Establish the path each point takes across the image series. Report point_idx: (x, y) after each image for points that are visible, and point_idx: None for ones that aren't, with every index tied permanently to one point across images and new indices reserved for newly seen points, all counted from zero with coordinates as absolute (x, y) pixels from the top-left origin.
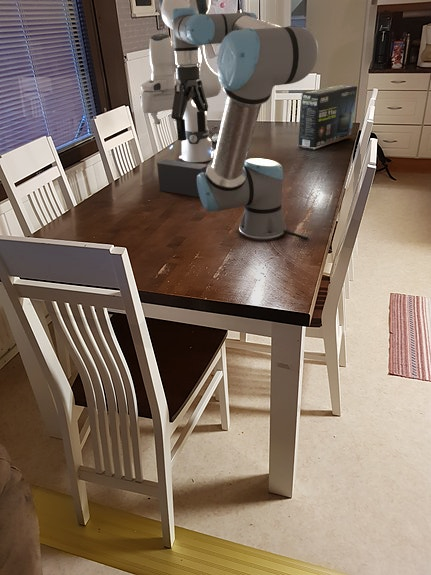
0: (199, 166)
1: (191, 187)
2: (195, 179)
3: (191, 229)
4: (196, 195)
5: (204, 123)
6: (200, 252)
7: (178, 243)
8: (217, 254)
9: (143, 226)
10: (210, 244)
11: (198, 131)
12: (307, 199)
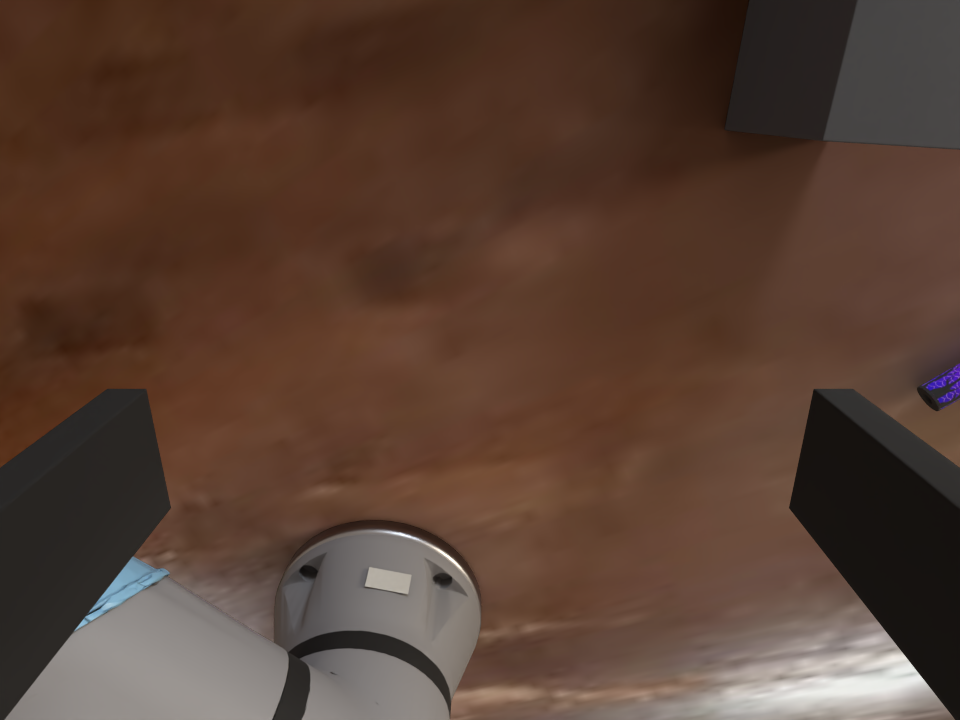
0: (910, 86)
1: (768, 31)
2: (788, 77)
3: (250, 317)
4: (736, 82)
5: (871, 606)
6: None
7: (82, 339)
8: None
9: (132, 21)
10: None
11: (812, 401)
12: (818, 651)
